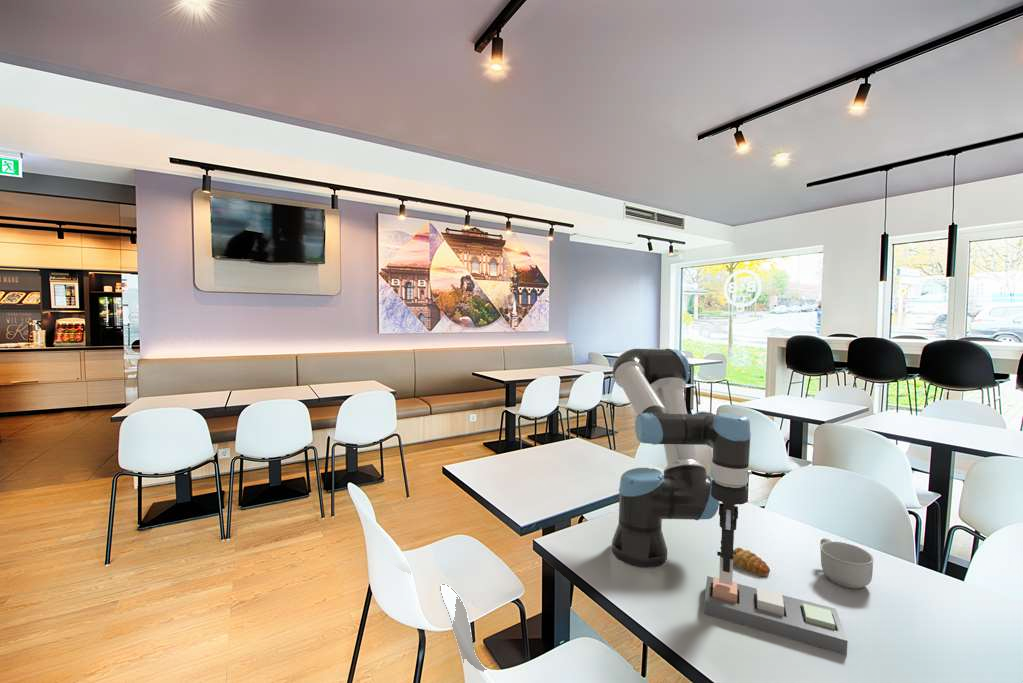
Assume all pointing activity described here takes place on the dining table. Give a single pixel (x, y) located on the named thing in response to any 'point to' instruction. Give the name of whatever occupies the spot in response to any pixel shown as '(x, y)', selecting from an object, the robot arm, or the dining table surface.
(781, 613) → the cream key
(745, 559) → the pastry
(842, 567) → the teacup
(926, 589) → the dining table surface
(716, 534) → the dining table surface
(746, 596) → the keypad
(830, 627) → the sage key
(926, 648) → the dining table surface
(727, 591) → the terracotta key
